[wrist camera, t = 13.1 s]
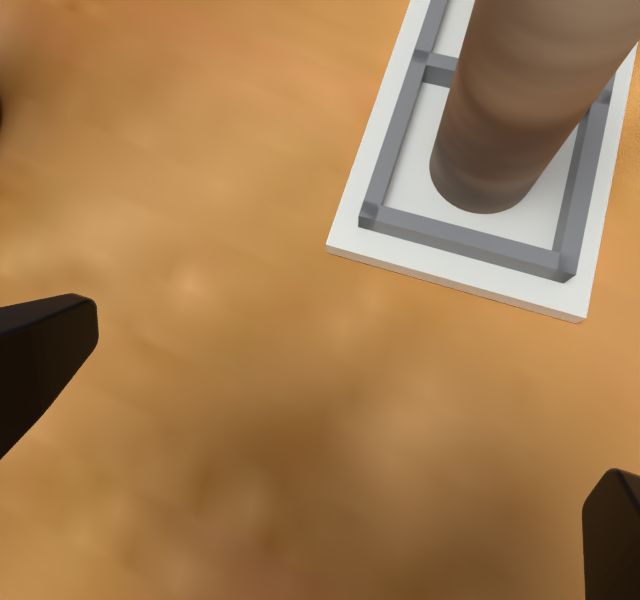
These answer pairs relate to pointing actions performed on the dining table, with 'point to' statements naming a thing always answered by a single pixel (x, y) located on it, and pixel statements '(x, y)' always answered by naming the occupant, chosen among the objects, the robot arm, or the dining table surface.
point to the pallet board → (461, 226)
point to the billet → (523, 93)
